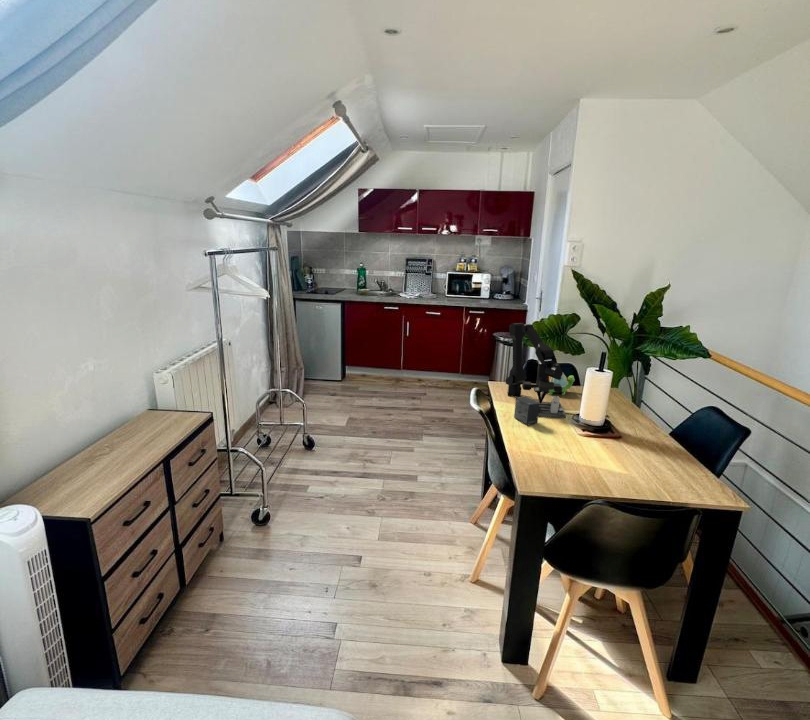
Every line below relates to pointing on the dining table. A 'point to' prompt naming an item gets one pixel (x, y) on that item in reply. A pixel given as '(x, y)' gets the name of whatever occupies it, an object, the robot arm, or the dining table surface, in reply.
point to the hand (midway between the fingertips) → (540, 402)
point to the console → (545, 410)
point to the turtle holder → (562, 383)
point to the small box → (526, 410)
